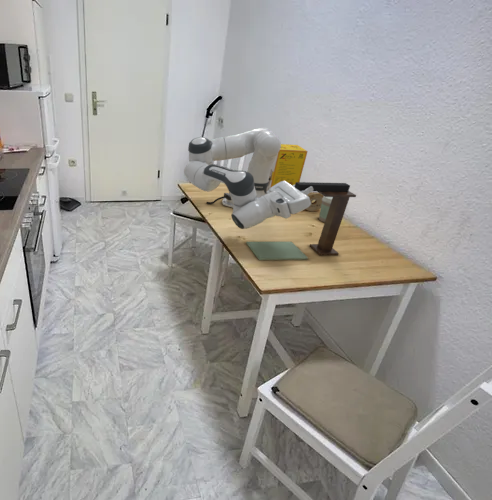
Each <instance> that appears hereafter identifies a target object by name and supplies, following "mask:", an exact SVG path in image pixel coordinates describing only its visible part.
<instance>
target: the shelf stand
mask: <svg viewBox="0 0 492 500" xmlns="http://www.w3.org/2000/svg"><path fill="white" fill-rule="evenodd" d="M316 192H318V193H320V194H322V195H323V196H325V197H333V198H332V201H331V204H330V208H329V211H328V214H327V217H326V220H325V222H323V223H324V224H323V227H322V230H321V232H320V236H319V239H318V243H310V244H309V248H310V249H312V250H313V251H314V252H315V253H316V254H317V255H319V256H339V252H338V251H337V250H335V249H334V244H335V242H336V238H337V236H338V233H339V230H340V226H341V224H342V220H343V218H344V215H345V212H346V209H347V206H348V203H349V200H350V199H351V198H356V197H357V194H355V193H354V192H351V191H350V190H349V191H348V192H321V191H316Z"/></svg>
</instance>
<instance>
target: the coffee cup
mask: <svg viewBox="0 0 492 500" xmlns="http://www.w3.org/2000/svg"><path fill="white" fill-rule="evenodd" d="M332 198H333V197H325V196H324V197H323V198H322V205H321V208H320V209H319V210H320V211H319V216H318V220H319V221H320V222H321V223H322V222H323V223H325V220H326V217H327V214H328V211H329V208H330V204H331V201H332Z"/></svg>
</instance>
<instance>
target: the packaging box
mask: <svg viewBox="0 0 492 500" xmlns="http://www.w3.org/2000/svg"><path fill="white" fill-rule="evenodd" d="M307 155H308V150H306V149H305V148H303V147H302V146H300V145H298V144H289V143H288V144H287V143H286V144H285V143H281V148H280V150H279V152H278V153H277V155H276V157H275V160H274V162H273V164H272V167H271V171H270V176H269V180H268V182H269V185H268V190H269V189H270V188H271V187H272V186H274V185H276V184H277V183H279V182H281V181H286V182H288V183H289V184H291V185H292V186H293V185H295V184H296V182H301V177H302V175H303V171H304V167H305V162H306V159H307ZM268 190H267V191H268Z"/></svg>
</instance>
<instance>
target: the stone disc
mask: <svg viewBox="0 0 492 500" xmlns="http://www.w3.org/2000/svg"><path fill="white" fill-rule="evenodd" d="M307 196H308V197H309V198H310V202H311V205H310V206H309V207H308V208H306V209H305V210H306V211H309V212H317V211H319V210H321V205H322V198H323V197H324V196H323V195H322V194H320V193H319V192H317V191H312V192H310V193H309V194H308V195H307Z"/></svg>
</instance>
